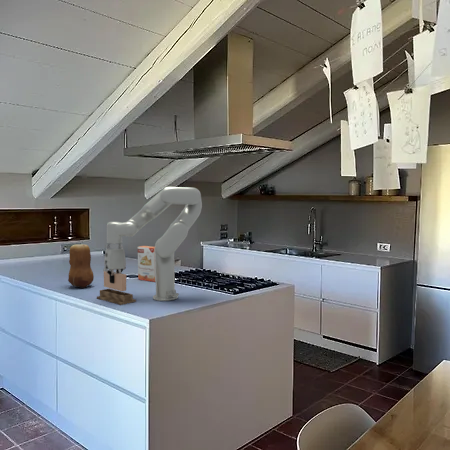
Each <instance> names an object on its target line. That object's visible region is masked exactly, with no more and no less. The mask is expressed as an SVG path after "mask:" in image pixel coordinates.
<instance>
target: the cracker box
mask: <svg viewBox="0 0 450 450" xmlns="http://www.w3.org/2000/svg"><path fill="white" fill-rule="evenodd" d="M137 276H138V277H137V278H138V280H139V281H140V280H141V281H145V282H146V281H147V282H151V283H153V282H154V283H156V255H155V246H151V245H149V246H148V245H139V246H137Z"/></svg>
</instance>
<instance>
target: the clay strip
mask: <svg viewBox="0 0 450 450" xmlns="http://www.w3.org/2000/svg"><path fill="white" fill-rule="evenodd" d="M113 275H114V283H110V275H109V274H108V273H107V272H105V271H103V288H106V289H113V290H117V291H121V292H126V291H127V274H126V273H123V272H121V273H117V272H116V271H114V274H113Z"/></svg>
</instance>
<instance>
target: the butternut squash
mask: <svg viewBox="0 0 450 450" xmlns="http://www.w3.org/2000/svg"><path fill="white" fill-rule="evenodd" d="M68 252H69V255H68V256H69V259H68V260H69V261H68V263H69V266H70V268H69V272H68V280H67V281H68V283H69V284H70V285H71V286H73V287H76V288H81V289H85V288H87V287H89V286H90V285H91V284H93V282H94V279H95V278H94V277H95V276H94V272H93V269H92V267H91V266H92V265H91V261H92V255H91V249H90V246H89V245H88V244H81V243H80V244H73V245H71V246H70V247H69V251H68Z"/></svg>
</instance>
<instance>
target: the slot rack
mask: <svg viewBox="0 0 450 450" xmlns="http://www.w3.org/2000/svg"><path fill="white" fill-rule="evenodd" d="M133 297H134V296H133V294H132V293H129V292H126V291H119V290H115V289H111V288H103V289H100V290H99V295H98V296H96V299H98V300H101V301H104V302H109V303H112V304H116V305H120V306H122V305H126V304H127V303H128V304H131V303H136V302H137V300H136V299H134V298H133Z"/></svg>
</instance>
